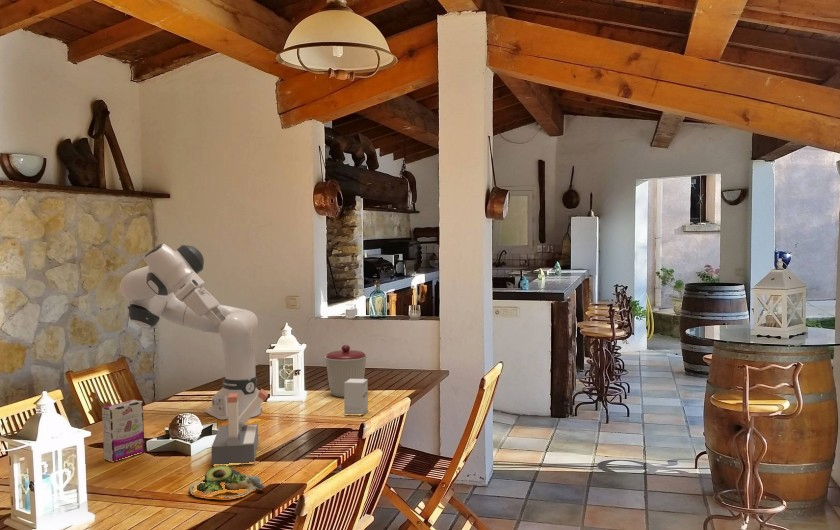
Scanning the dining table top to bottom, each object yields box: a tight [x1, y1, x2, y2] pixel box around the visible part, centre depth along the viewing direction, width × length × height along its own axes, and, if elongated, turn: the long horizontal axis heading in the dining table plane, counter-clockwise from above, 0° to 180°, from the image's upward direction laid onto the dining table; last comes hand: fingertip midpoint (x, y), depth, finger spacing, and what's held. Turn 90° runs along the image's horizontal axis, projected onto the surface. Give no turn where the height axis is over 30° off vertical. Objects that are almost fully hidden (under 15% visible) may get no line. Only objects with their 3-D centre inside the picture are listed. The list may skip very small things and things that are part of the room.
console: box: [211, 423, 259, 466], centre depth 213 cm, size 12×23×8 cm, turn 10°
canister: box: [323, 344, 368, 398], centre depth 290 cm, size 18×18×21 cm
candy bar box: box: [101, 399, 146, 461], centre depth 211 cm, size 11×5×16 cm, turn 148°
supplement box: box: [343, 378, 369, 415], centre depth 259 cm, size 7×7×13 cm
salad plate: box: [188, 465, 266, 498], centre depth 184 cm, size 19×18×5 cm
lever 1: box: [227, 393, 239, 437], centre depth 205 cm, size 3×5×14 cm, turn 10°
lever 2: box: [238, 388, 269, 427], centre depth 220 cm, size 3×5×14 cm
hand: (221, 321), depth 210 cm, fingers open, 8 cm apart
